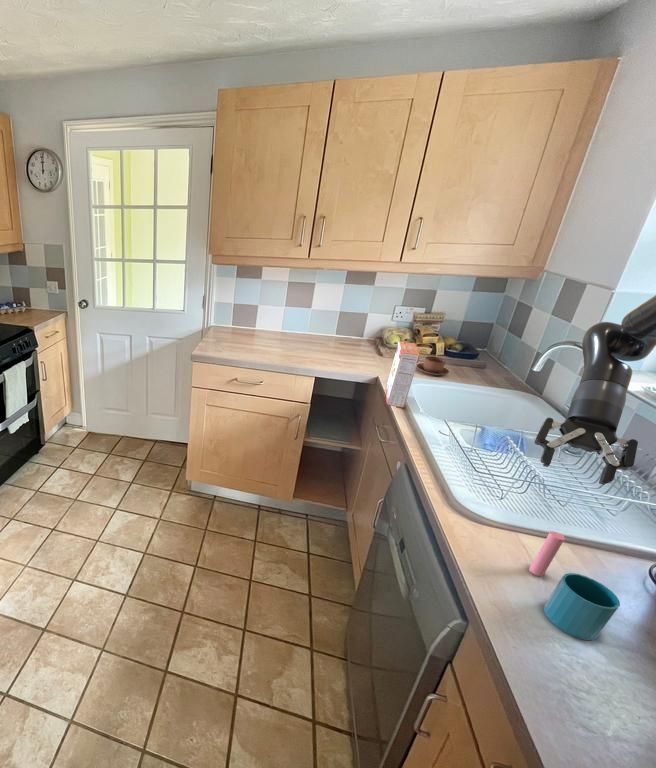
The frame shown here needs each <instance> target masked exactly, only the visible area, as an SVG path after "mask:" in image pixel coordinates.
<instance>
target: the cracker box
mask: <svg viewBox="0 0 656 768" xmlns="http://www.w3.org/2000/svg"><path fill="white" fill-rule="evenodd" d="M395 350H396V351H395V354H394V357H393V361H392V365H391V368H390V371H389V376H388V380H387V383H386V386H385V399H386V406H390V407H395V408H396V407H397V408H401V409H405V405H406V402H407V399H408V396H409V392H410V389H411V385H412V382H413V380H414V376H415V373H416V369H417V364H419V359H420V352H419V349H418V347H417V343H415V342H407V341H398V342H397V346H396V349H395Z"/></svg>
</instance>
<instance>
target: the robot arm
mask: <svg viewBox="0 0 656 768" xmlns="http://www.w3.org/2000/svg"><path fill="white" fill-rule="evenodd" d="M655 347H656V294H655V295H653V296H652V297H650V298H649V299H648V300H646V301H645V302H643V303H642V304H640V305H639V306H637V307H636V308H634V309H633V310H631V311H630V312H628V313H627V314H626V315H625V316H624V317H623V318H622V320H621V324H619V323H615V322H611V321H601V322H598V323H595V324H593V325H592V326H590V327H589V328H588V329H587V330H586V331H585V333H584V335H583V338H582V343H581V348H582V349H581V350H582V354H583V355H582V357H583V372H582V375H581V378H580V381H579V384H578V386H577V388H576V390H575V392H574V393H573V396H572V397H571V400H570V405H569V408H568V411H567V414H566V417H565V420H564V422H559V421H556V420H554V418H552V417H547V418H546V419H545V420H544V421H543V422H542V424H541V427H540V429H539V431H538V432H537V435H536V436H535V437H536V438H535V440H534V444H535V445H537V446H540V447H541V448H542V449H543V451H542V453H541V457H540V460H539V461H540V463H541V464H542V466H543V467H545V468H548V467H550V465H551V463H552V460H553V457H554V455H555V452H556V449H557V448H561V447H563V446H565V445H567V444H568V445H569V446H570V447H571V448H573V449H579V450H582V451H585V452H588V453H594V454H596V456H597V457H598V459H599V460H601V461H602V463H603V465H604V467H603V468H602V471H601V474H600V477H599V481H598V484H599V485H602V486H605V485H606V484H610V483H612V482H613V481H614V480H615V476H616V473H617V470H622V471H627V470H629V469H630V468H633V467H634V465H635V460H636V455H637V449H638V445H639V441H638V440H637V439H634V438H632V439H629V440H628V439H625V438H620V437H618V436H617V430H618V427H619V423H620V420H621V417H622V414H623V412H624V408H625V404H626V402H627V392H628V389H629V386H630V383H631V379H632V377H633V369H632V368H631V366H630V365H628V364H627V363H625V362H630V363H631V362H638V361H641V360H643V359H645V358H647V357H648V356H649V355H650V354H651V353H652V351H653V350H654V348H655ZM555 429H558V430H559V432H560V433H561V436H560V437H557V438H556V439H554V440H548V439H547V437H548V434H549V432H553V431H554V430H555ZM614 444H616V445H617V446H618V449H619V450H620V451H621V457H620V460H618V458H617V457H616V456H615V452H614V450H613V449H612V447H611V446H613V445H614Z"/></svg>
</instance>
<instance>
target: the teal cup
mask: <svg viewBox="0 0 656 768" xmlns="http://www.w3.org/2000/svg"><path fill="white" fill-rule="evenodd" d="M560 578H561V579H560V580H559V582H558V583H557V585H556V586H555V588H554V590H553V591H552V592H551V594H550V596H549V597H548V599H547V601H546V602H545V604H544V607H543V612H544V614H545V616H546V618H547V619H548V620H549V621H550V623H552V624H553V625H554V626H556V628H558V629H560V630H561V631H563V632H565V634H568V635H569V636H572V637H574V638H577V639H580V640H584V641H593V640H596V639H597V638H598V636H599V635H600V634H601V632H602V631H603V630H604V628H605V627H606V626H607V624H608V623H609V622H610V620H611V619H612V617H613V616H614V615H615V613H616V612H617V611H618V609H619V608H620V607H621V601H620V599H619V598H618V596H617V595H616V594H615V593H614V592H613V591H612V590H611V589H610V588H608V586H606V585H604V584H602V583H601V582H598V581H597V580H595V579H594V578H591V577H588V576H587V575H582V574H579V573H572V572H569V573H565V574H563V576H562V577H560Z"/></svg>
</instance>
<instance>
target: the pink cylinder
mask: <svg viewBox="0 0 656 768" xmlns="http://www.w3.org/2000/svg"><path fill="white" fill-rule="evenodd" d="M565 539H566V537H565V536H564V535H563V534H561V533H560V532H557V531H552V530H551V531H550V532H549V533H548V534H547V536H546V538H545V539H544V542H543V543H542V545H541V547H540V549H539V550H538V552H537V554H536V555H535V558H533V559H534V560H533V561H532V563H531V565H530V566H529V568H528V569H529V572H530V573H531V574H533V575H535V576H537V577H544V575H545V574H546V572H547V570H548V569H549V567H550V565H551V563H552V562H553V560H554V558H555V556H556V555H557V553H558V552H559V550H560V548H561V546H562V545H563V543H564V541H565Z"/></svg>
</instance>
